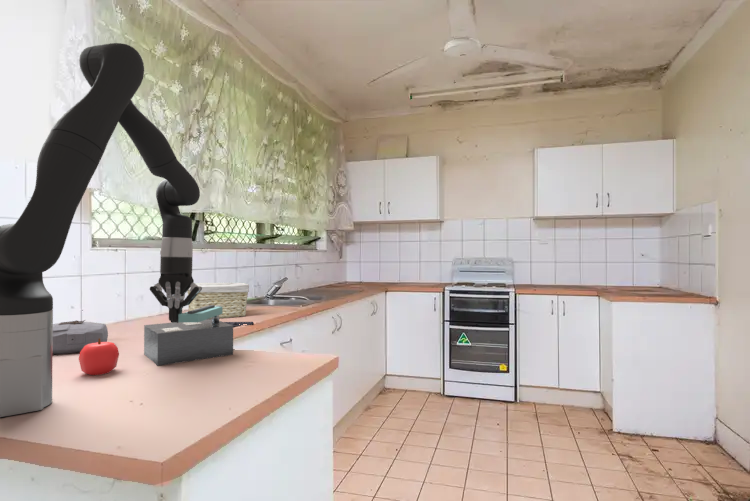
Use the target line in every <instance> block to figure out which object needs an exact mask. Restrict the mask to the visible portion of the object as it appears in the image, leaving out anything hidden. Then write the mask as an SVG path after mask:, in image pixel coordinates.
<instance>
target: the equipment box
mask: <svg viewBox="0 0 750 501" xmlns="http://www.w3.org/2000/svg"><path fill="white" fill-rule="evenodd" d="M224 322H225V321H221V320H220V318H219V315H217V316H215V317H212V319H206V320H203V321H201V322H179V323H171V322H163V323H153V324H144V325H143V331H144V332H143V337H144V338H143V347H144V348H143V354H144V356H146V357H147V358H148V359H149V360H150V361H151V362H152V363H154V365H155V366H157V367H159V366H166V365H172V364H173V365H174V364H178V363H179V364H180V363H186V362H194V361H201V360H206V359H207V360H208V359H213V357H214V358H220V357H221V358H222V357H228V356H233V355H234V327H233V325H230V324H227V323H224Z"/></svg>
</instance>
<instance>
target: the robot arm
mask: <svg viewBox="0 0 750 501" xmlns="http://www.w3.org/2000/svg"><path fill="white" fill-rule="evenodd" d="M78 65H79V70H80V71H81V74H82V76H83V77H84V79H85V81H86V82H87V83H88V85H89V86H90V87H91V88H90V89H89V91H88V92H87V93H86V94H85V95H84V96H83V97H82V98H81V99H80V100H79V101H78V102H77V103H75V104H74V105H73V106H72V107H70V108H69V109H68V110H67V111H66V112H65V113H64V114H63V115H62V116H61V117H59V118H58V120H57V121H56V122H55V123H54V125H53V126H52V128H51V130H50V131H49V133H48V135H47V137H46V139H45V140H44V143H43V144H42V146H41V148H40V151H39V153H38V157H37V162H36V177H35V187H34V190H33V193H32V196H31V198H30V199H29V201H28V203H27V205H26V206H25V208H24V210H23V212H22V213H21V215H20V216H19V218H18V219H17V220H16V222H15V223H8V224H2V225H0V418H4V417H9V416H15V415H21V414H25V413H31V412H36V411H42V410H43V409H44V408H45V407H47V406H50V405H51V404H52V403H53V354H52V353H53V324H54V298H53V295H52V294H51V293H50V292H49V291H48V289H46V287H45V286H46V285H45V284H44V279H43V278H44V277H43V276H44V275H43V273H44V272H46V271H48V270H49V269H51V268H53V267H54V265H56V263H57V262H58V261H59V259H60V257H61V254H62V253H63V249H64V248H65V245H66V241H67V238H68V235H69V232H70V228H71V226H72V223H73V219H74V216H75V214H76V212H77V208H78V207H79V204H81V201H82V198H84V197H83V196H84V195H85V192H86V191H87V188H88V186H89V184H90V182H91V180H92V178H93V176H94V175H95V172H96V170H97V168H98V166H99V164H100V162H101V160H102V158H103V155H104V153H105V151H106V148H107V145H108V144H109V142H110V139H111V138H112V135H113V133H114V132H115V130H116V128H117V126H118V124H119V125H120V126H121V128H122V129H123V130H124V131H125V133H126V134H127V136H128V137H129V138H130V140H131V141H132V143H133V144H134V146H135V147H136V150H137V151H138V153H139V155H140V156H141V159H142V160H143V162H144V164H145V165H146V167H147V169H148V170H149V172H150V173H151V174H152V175H153V176H155V177H159V178H162V179H163V180H161V181H160V182H159V183H158V185H157V187H156V193H155V197H156V202H157V206H158V210H159V213H160V218H161V222H162V226H161V227H162V230H161V231H162V234H161V237H162V238H161V245H160V253H159V255H160V267H159V268H160V269H159V270H160V272H159V273H160V276H159V278H158V282H157V283H156V284H154V285H153V286H150V287H149V290H150V292H151V294H152V295H153V296H154V297H155V299H156V300H157V301H158V302H159V304H160V305H161V306H162V307H167V308H168V321H169V322H170V323H179V322H178V314H182V313H183V308H184V307H186V306H188V305H189V304H190V303H191V302H192V301H193V299H194V298H195V297H196V296H197V295H198V293H199V292H200V291H201V290H202V287H201V286H197V285H196V284H195V282H194V278H193V251H194V250H193V248H194V246H193V239H192V238H193V221H192V218H191V217H190V216H188V215H184V214H182V213H181V211H180V207H186V206H188V207H189V206H193V205H195V204H196V203H198V201H199V200H200V196H201V195H200V194H201V190H200V187H199V185H198V183H197V181H196V179H195V178H194V177H193V176H192V174H191V173H190V172H189V171H188V170H187V169H186V167H185V166H183V164H181V162H180V160H179V159H178V158H177V157H176V156H177V155H176V154H175V152H174V150H173V148H172V147H171V145H170V143H169V141H168V139H167V137H166V136H165V134H164V133H163V132H162V131H161V130H160V129H159V128H158V127H157V126H156V125H155V123H153V122H152V120H150V119H149V118H148V117H147V116H146V115H145V114H144V113H143V112H142V111H141V110H140V109H139V108H138V107H137V105H136V104H135V103H134V102H133V100H132V99H133V97H135V94H136V93H137V91H138V90H139V88H140V86H141V85H142V83H143V81H144V76H145V65H144V60H143V59H142V56H141V54H140V53H139V51H138V50H137V49H136V48H134V47H133V46H131V45H130V44H126V43H122V42H121V43H120V42H113V43H104V44H97V45H92V46H88V47H85V48H84V49H83V50H82V51H81V52H80V55H79V58H78ZM190 287H191V288H190ZM189 288H190V293H189V295H188V294H187V296H186V293H187V291H188V289H189ZM163 291H164V292H163ZM164 293H166V294H164ZM185 296H186V297H185Z"/></svg>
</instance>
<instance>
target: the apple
mask: <svg viewBox="0 0 750 501" xmlns="http://www.w3.org/2000/svg"><path fill="white" fill-rule="evenodd" d="M119 352H120V351H119V347H118V346H117V345H116V344H115V343H114V342H112V341H107V342H101V340H100V338H99V339H98V342H97V343H91V344H88V345H85V346H84V348H83V349H82V350H81V352H79V355H78V362H79V366H80V370H81V372H83V373H84V374H86V375H89V376H102V375H105V374H108V373H110V372H112V371H113V370H115V368H117V365H118V361H119V356H120V353H119Z"/></svg>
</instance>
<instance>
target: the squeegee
mask: <svg viewBox="0 0 750 501" xmlns="http://www.w3.org/2000/svg"><path fill="white" fill-rule="evenodd" d="M223 322H224V323H227V324H230V325H233V328H235V327H242V326H241V325H243V324H247V325H246V326H254V321H223ZM239 324H240V325H239Z"/></svg>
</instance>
